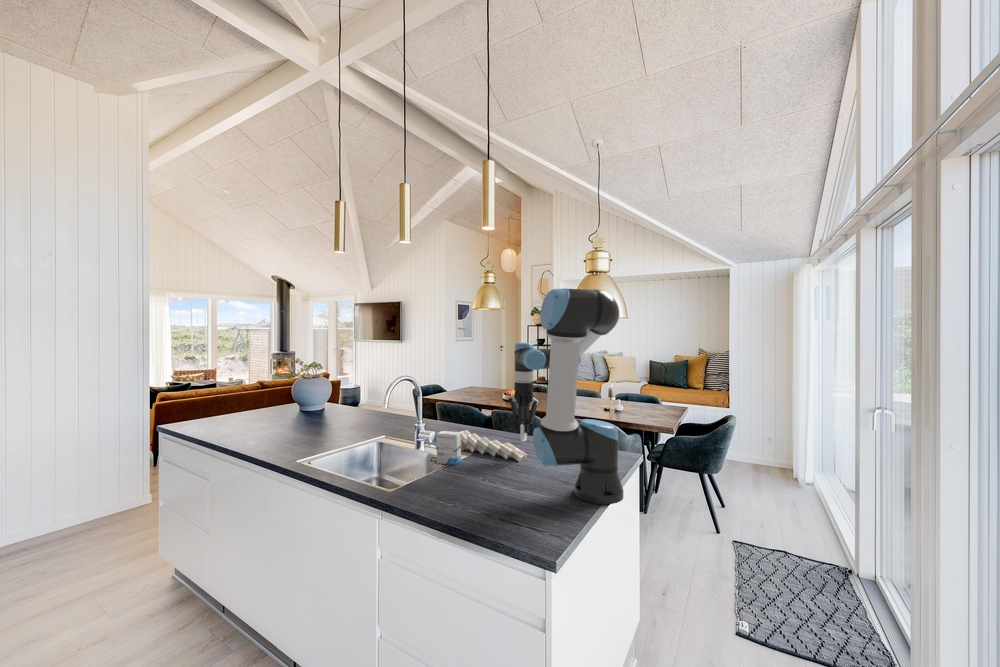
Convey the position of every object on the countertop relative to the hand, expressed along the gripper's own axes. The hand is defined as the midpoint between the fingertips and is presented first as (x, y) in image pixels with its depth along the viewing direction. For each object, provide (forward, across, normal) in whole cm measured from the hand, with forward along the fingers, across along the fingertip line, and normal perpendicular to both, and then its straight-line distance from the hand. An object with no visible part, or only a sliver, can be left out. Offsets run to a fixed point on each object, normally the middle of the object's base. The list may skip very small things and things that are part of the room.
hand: (523, 440), depth 165 cm
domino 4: (+7, +6, 0) cm, 9 cm away
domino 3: (+7, +12, 0) cm, 14 cm away
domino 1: (+7, +23, 0) cm, 24 cm away
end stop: (+8, +30, 0) cm, 31 cm away
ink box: (+8, +24, +18) cm, 31 cm away
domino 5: (+7, 0, 0) cm, 7 cm away
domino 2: (+7, +18, 0) cm, 19 cm away
